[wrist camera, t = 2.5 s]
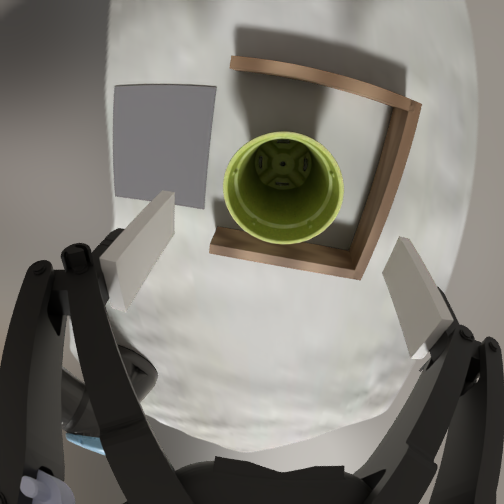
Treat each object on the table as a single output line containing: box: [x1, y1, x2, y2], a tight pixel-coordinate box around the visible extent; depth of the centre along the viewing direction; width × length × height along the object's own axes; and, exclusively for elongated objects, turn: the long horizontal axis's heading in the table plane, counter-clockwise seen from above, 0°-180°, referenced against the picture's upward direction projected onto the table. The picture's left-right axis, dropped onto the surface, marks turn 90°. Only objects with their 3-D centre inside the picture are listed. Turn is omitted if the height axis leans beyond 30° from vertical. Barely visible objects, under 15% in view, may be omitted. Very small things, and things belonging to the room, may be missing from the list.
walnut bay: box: [209, 56, 422, 280], centre depth 26 cm, size 17×20×4 cm
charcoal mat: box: [113, 85, 217, 209], centre depth 28 cm, size 12×14×1 cm
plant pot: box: [223, 131, 344, 244], centre depth 25 cm, size 9×9×9 cm
